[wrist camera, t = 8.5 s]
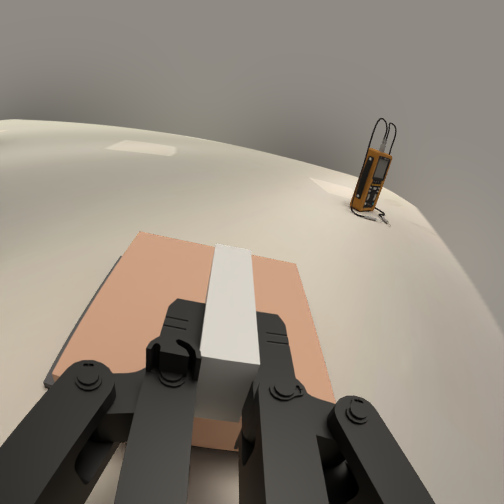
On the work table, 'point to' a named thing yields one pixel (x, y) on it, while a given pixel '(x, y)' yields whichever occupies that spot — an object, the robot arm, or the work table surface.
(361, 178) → the multimeter
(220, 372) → the robot arm
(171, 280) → the tile
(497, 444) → the work table surface
